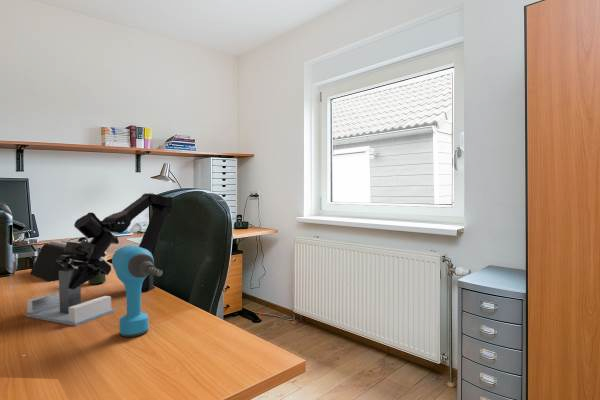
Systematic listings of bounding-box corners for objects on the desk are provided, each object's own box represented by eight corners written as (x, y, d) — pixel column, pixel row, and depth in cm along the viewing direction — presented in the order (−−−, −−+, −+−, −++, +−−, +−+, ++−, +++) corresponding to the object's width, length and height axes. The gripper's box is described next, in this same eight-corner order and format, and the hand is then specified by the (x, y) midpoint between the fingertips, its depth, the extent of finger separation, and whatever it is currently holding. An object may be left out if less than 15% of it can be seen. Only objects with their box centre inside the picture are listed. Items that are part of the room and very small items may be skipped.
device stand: (82, 266, 180) (82, 237, 180) (104, 272, 167) (103, 241, 167) (30, 275, 162) (29, 242, 162) (49, 282, 149) (48, 247, 148)
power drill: (179, 350, 84) (178, 253, 84) (142, 362, 78) (141, 258, 78) (138, 319, 105) (137, 241, 104) (106, 327, 99) (105, 244, 98)
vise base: (114, 311, 112) (114, 296, 112) (75, 326, 100) (75, 309, 99) (67, 303, 120) (67, 289, 120) (25, 316, 108) (25, 300, 107)
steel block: (72, 308, 112) (71, 268, 112) (81, 309, 111) (80, 268, 110) (59, 312, 108) (58, 270, 108) (68, 314, 107) (67, 271, 107)
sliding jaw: (70, 302, 118) (70, 290, 118) (32, 313, 107) (32, 300, 107) (65, 301, 119) (65, 289, 119) (27, 312, 108) (27, 299, 108)
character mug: (84, 282, 147) (83, 251, 147) (102, 279, 152) (102, 249, 152) (90, 287, 140) (90, 255, 139) (110, 284, 145) (109, 252, 144)
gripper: (61, 230, 116) (25, 271, 106) (102, 233, 109) (68, 276, 99) (84, 250, 124) (53, 290, 114) (123, 253, 117) (94, 296, 107)
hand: (66, 287), depth 108 cm, fingers open, 5 cm apart
